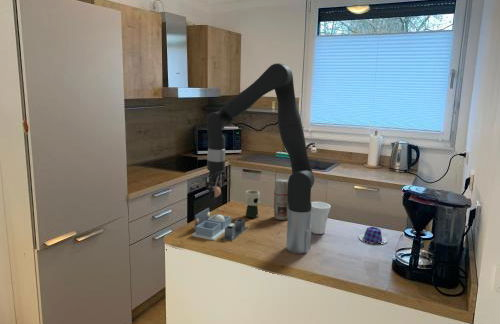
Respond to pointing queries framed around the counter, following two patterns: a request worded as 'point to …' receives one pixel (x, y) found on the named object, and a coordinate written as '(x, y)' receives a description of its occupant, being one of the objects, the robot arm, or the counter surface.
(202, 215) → the card
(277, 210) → the spray can
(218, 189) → the terracotta ball
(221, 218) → the cream ball
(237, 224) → the post stand
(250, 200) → the character mug
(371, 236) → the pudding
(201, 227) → the rack
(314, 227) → the cup
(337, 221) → the counter surface
